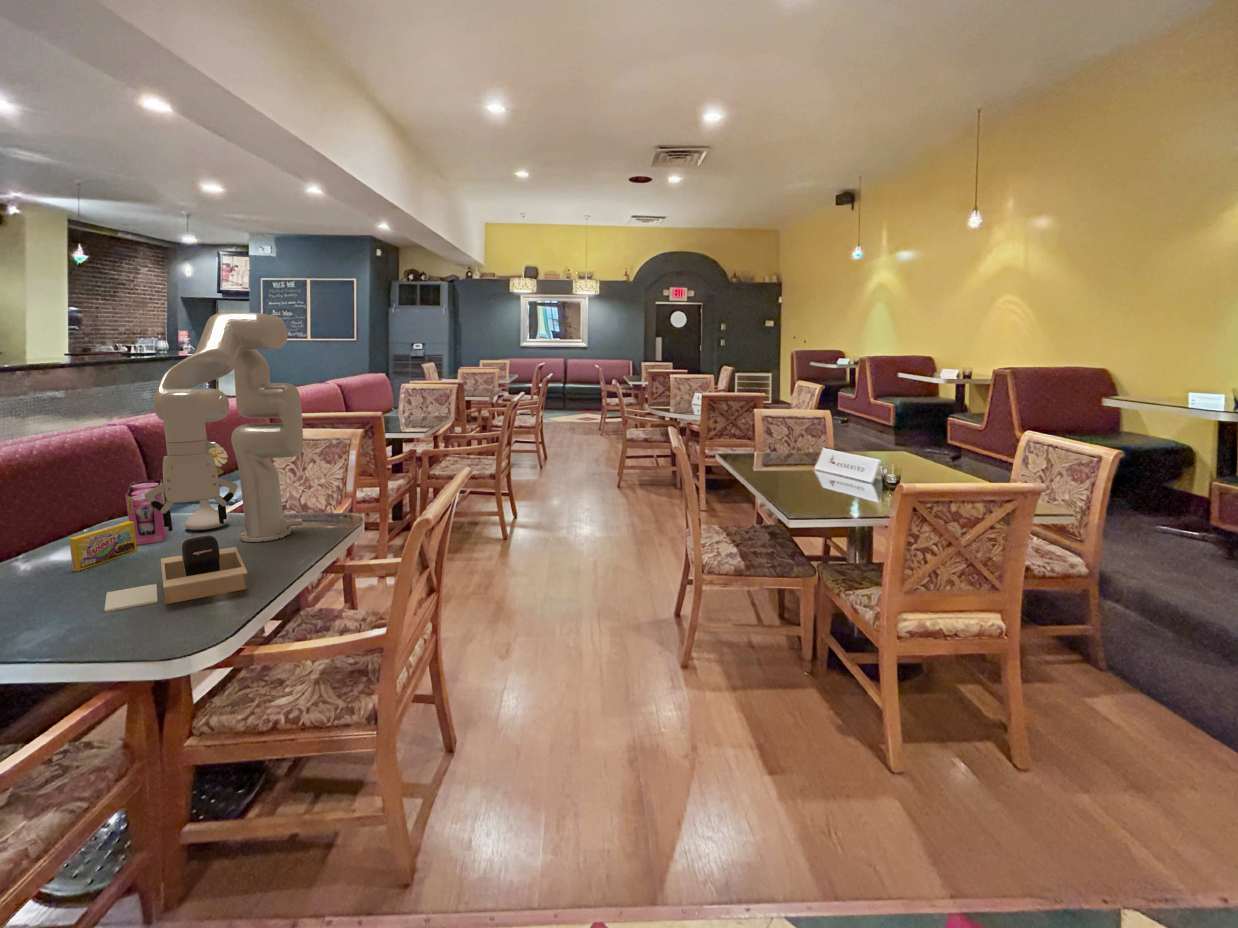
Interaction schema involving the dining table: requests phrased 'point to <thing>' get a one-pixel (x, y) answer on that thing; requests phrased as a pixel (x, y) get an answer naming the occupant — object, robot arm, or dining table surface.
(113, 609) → the mat
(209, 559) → the battery charger
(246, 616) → the dining table surface
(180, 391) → the robot arm
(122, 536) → the candy box
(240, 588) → the carton
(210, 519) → the flower in vase
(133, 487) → the gum box
